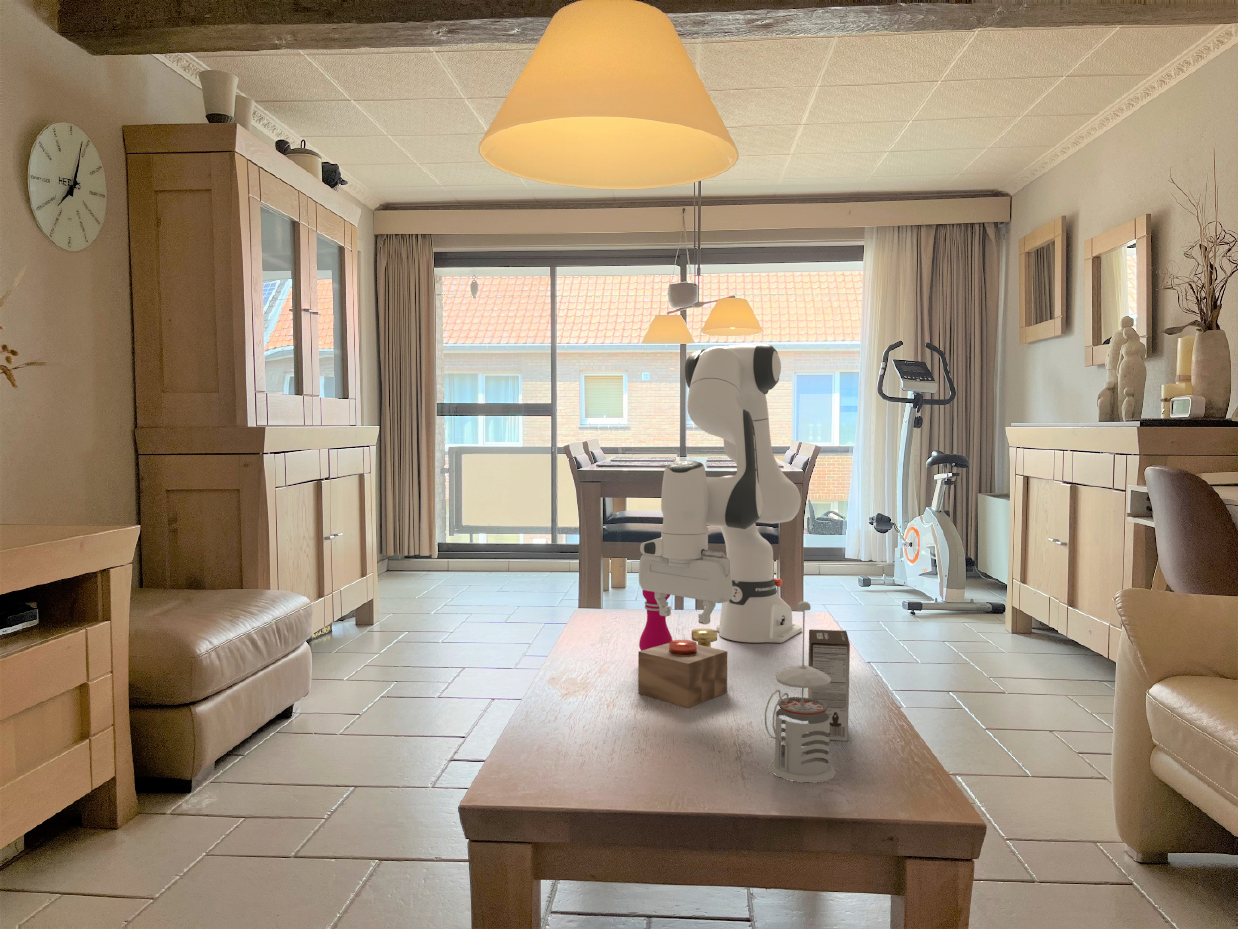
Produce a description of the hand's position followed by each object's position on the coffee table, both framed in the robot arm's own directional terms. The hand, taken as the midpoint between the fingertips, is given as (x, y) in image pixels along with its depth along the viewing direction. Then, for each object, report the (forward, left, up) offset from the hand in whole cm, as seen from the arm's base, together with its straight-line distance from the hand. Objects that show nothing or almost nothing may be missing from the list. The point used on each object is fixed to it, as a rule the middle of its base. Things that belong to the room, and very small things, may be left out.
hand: (684, 619), depth 159 cm
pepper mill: (-11, -16, -14) cm, 24 cm away
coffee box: (-1, +30, -14) cm, 33 cm away
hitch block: (0, 0, -14) cm, 14 cm away
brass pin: (-12, -4, -14) cm, 19 cm away
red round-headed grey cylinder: (0, 0, -14) cm, 14 cm away
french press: (+17, +35, -14) cm, 42 cm away
